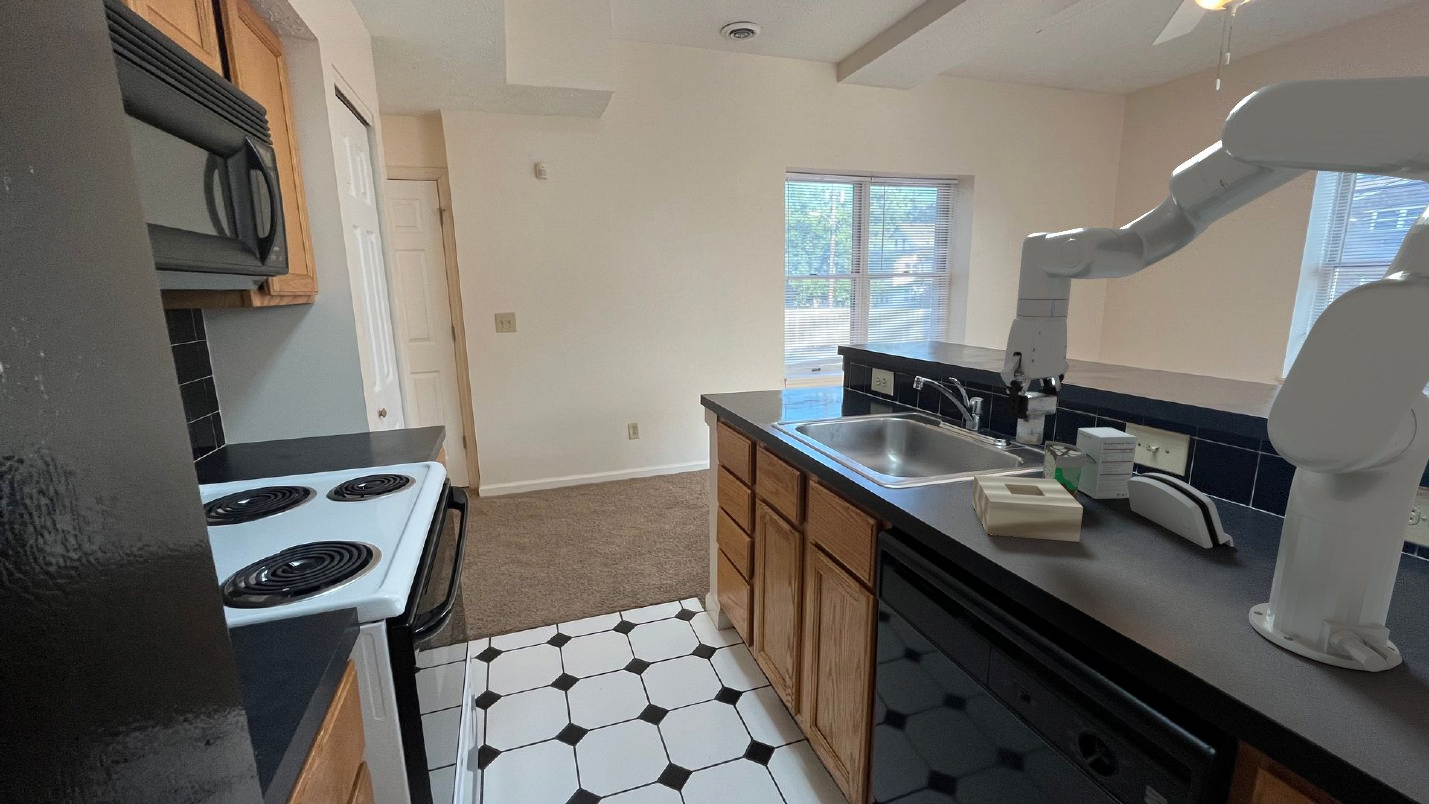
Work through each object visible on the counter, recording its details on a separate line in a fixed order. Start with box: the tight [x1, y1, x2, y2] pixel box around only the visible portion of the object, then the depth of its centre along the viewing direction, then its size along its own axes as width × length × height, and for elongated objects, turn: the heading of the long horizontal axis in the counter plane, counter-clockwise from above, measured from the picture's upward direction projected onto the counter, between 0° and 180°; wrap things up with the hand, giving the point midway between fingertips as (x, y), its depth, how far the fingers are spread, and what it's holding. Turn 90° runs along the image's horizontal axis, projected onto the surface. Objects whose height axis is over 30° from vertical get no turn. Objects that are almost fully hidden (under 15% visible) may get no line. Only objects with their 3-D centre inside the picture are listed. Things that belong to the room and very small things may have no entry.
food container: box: [1042, 440, 1087, 500], centre depth 116 cm, size 12×6×10 cm, turn 161°
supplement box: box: [1075, 426, 1138, 500], centre depth 119 cm, size 7×7×13 cm
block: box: [971, 474, 1084, 543], centre depth 106 cm, size 14×14×6 cm
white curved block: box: [1127, 472, 1235, 549], centre depth 103 cm, size 17×5×10 cm, turn 2°
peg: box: [1015, 391, 1058, 445], centre depth 103 cm, size 7×7×8 cm
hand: (1031, 414), depth 103 cm, fingers closed on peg, 7 cm apart
